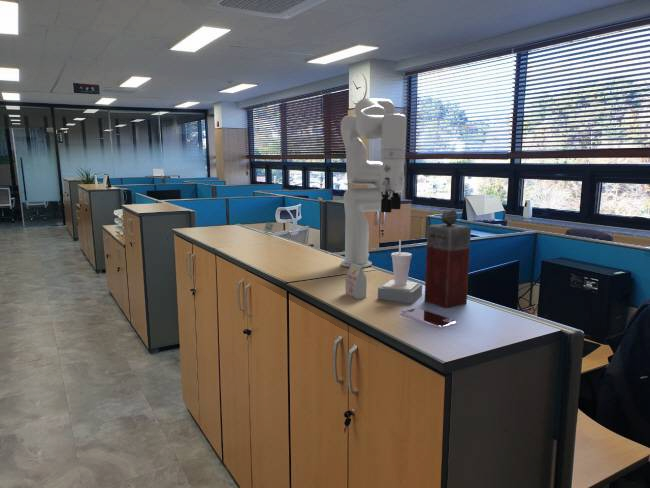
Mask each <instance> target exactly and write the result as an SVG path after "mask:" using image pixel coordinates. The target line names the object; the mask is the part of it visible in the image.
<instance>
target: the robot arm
mask: <svg viewBox="0 0 650 488" xmlns="http://www.w3.org/2000/svg"><path fill="white" fill-rule="evenodd" d="M354 113H355V114H348V115H346V116H344V117H343V118H342V119H341V122H340V133H341V138H342V141H343V144H344V148H345V165H346V179H347V182H348V183H349V184H352V185H364V186H365V185H367V186H368V185H371V186H373V187H351V188H348V189H347V190H345V192H344V194H343V205H344V206H343V207H344V215H345V221H344V222H345V223H344V224H345V225H344V226H345V227H344V230H345V231H344V232H345V233H344V235H345V239H344V242H345V243H344V244H345V245H344V246H345V247H344V260H342V261H341V262H340V264H341V266H343V267H346V268H349V267H350V263H353V264H356V265H358V266H361V267H362V269H364V268H369V266H370V267H371V266H372V264H373V262H372V261H370V260H369V257H370V253H369V236H370V235H369V233H370V232H369V231H370V229H369V228H370V224H369V220H368V218H367V217H366V216H365V214H364V213H365V212H381V213H392V210H401V208H402V207H401V203H402V202H401V200H402V197H401V196H402V192H403V191H404V190H405V167H404V161H406V142H407V141H406V139H407V117H406V115H405V114H401V113H396V107H395V105H394V103H393V101H392V100H391V99H388V98H375V97H374V98H373V97H370V98H362V99H360V100H359V101H357V103H356V104H355V107H354ZM360 138H362V139H366V140H380V160H379V161H378V160H369V159H368V148H367V146H366V144H365V143H364V142H363V140H362V139H360Z"/></svg>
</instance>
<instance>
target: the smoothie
mask: <svg viewBox="0 0 650 488" xmlns="http://www.w3.org/2000/svg"><path fill="white" fill-rule="evenodd" d="M401 249H402V240H401V239H399V240H398V251H396V252H392V253H391V255H390V257H391V258H392V259H391V260H392V269H393V270H392V271H393V280H394V283H395V285H399V286H404V285H407V282H408V277H409V272H410V264H411V259H412V257H413V256H412V255H413V254H412V253H411V252H406V251H405V252H404V251H403V252H402V250H401Z"/></svg>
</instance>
